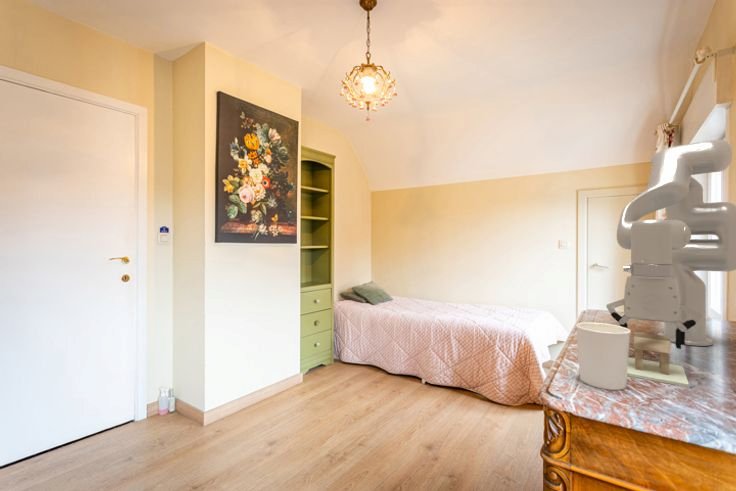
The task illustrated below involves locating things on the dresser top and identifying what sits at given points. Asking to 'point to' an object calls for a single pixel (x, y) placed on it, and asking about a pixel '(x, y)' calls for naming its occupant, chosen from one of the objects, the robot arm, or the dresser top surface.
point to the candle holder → (603, 354)
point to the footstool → (652, 349)
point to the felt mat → (658, 372)
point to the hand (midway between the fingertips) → (650, 343)
